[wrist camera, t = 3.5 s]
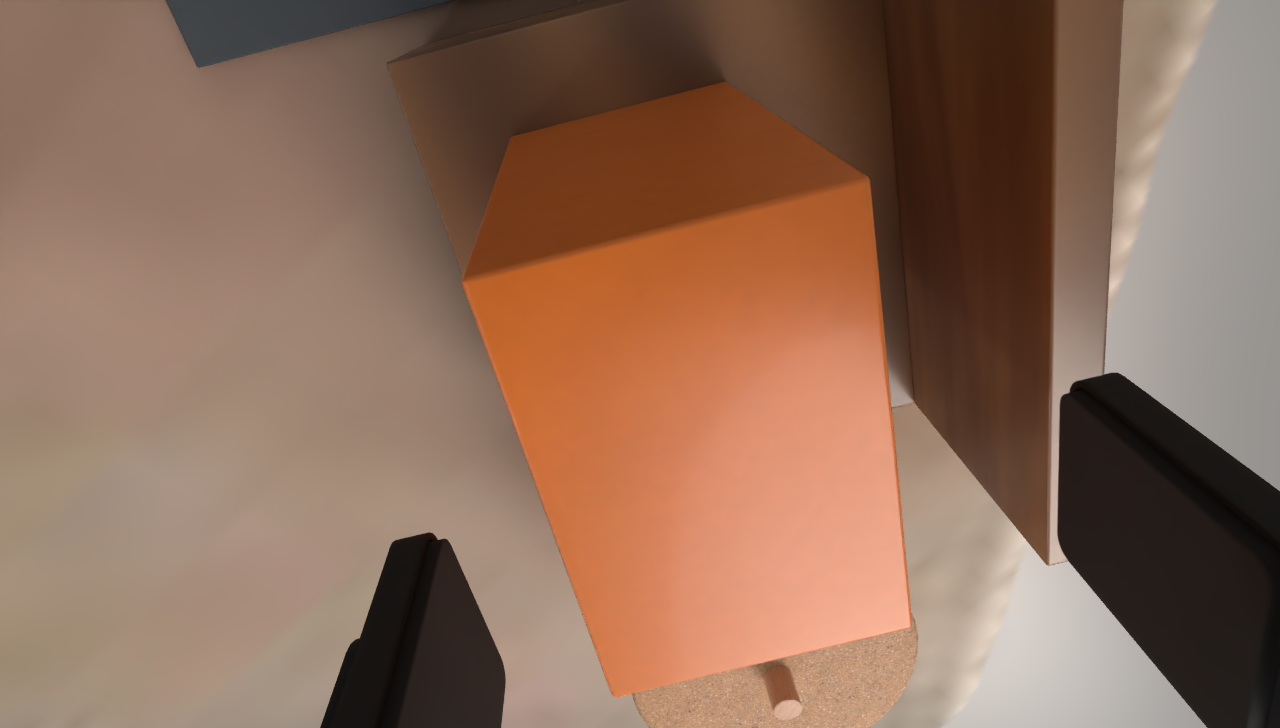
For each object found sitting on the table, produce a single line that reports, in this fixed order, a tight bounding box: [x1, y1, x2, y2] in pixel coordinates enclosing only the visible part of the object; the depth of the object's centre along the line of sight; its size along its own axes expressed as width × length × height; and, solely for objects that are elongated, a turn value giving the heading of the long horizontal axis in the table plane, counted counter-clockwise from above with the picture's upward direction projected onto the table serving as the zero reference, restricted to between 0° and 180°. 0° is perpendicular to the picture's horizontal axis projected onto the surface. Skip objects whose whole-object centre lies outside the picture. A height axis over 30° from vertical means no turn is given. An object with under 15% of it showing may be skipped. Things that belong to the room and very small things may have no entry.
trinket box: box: [633, 613, 918, 728], centre depth 31 cm, size 11×11×9 cm
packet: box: [462, 82, 912, 697], centre depth 18 cm, size 6×9×11 cm, turn 13°
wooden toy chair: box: [387, 0, 1123, 565], centre depth 22 cm, size 14×14×14 cm
